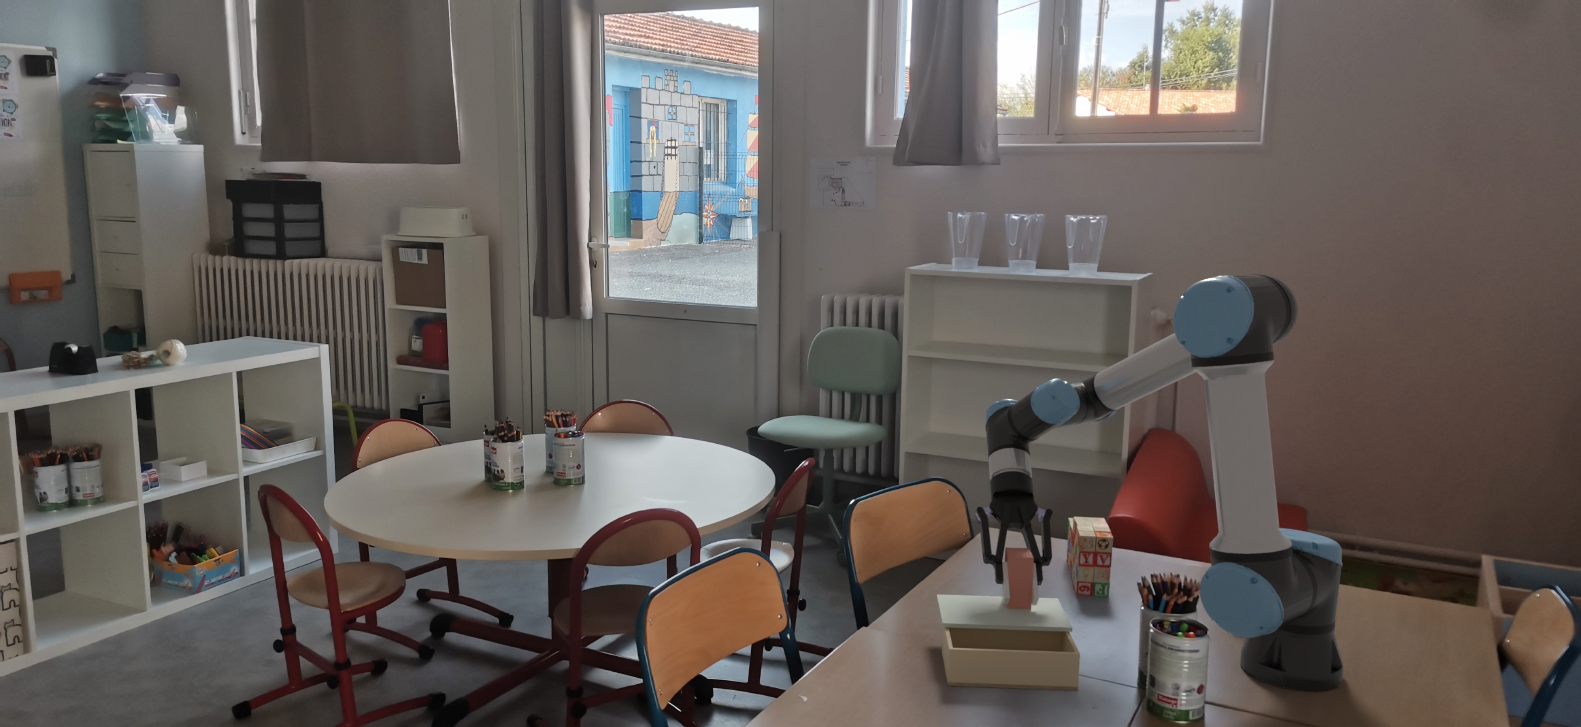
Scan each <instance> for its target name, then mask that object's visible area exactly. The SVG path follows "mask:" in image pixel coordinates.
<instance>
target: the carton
mask: <svg viewBox="0 0 1581 727" xmlns="http://www.w3.org/2000/svg"><path fill="white" fill-rule="evenodd" d="M941 641H942V642H941V656H942V657H941V658H942V661H943V668H944V672H945V678H946V683H947V686H949V687H973V688H999V689H1000V688H1001V689H1002V688H1003V689H1021V690H1022V689H1024V690H1025V689H1026V690H1048V691H1051V690H1052V691H1054V690H1055V691H1079V680H1080V679H1079V677H1080V661H1081V653H1080V652H1079V649H1078V647H1077V644H1076V643H1075V641H1074V639H1073V637H1072V635H1071V632H1065V631H1036V630H1008V629H979V628H951V627H942V639H941Z"/></svg>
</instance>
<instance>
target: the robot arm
mask: <svg viewBox="0 0 1581 727" xmlns="http://www.w3.org/2000/svg"><path fill="white" fill-rule="evenodd" d="M1297 302H1298V301H1297V298H1296V296H1295V293H1293V290H1292V289H1291V288H1290V287H1289V286H1288V285H1287V284H1286V283H1285V282H1284V281H1282V280H1281V279H1278V278H1277V277H1275V276H1272V275H1268V274H1263V273H1253V274H1252V273H1251V274H1243V275H1242V274H1241V275H1240V274H1238V275H1218V276H1214V277H1209V278H1204V279H1202V280H1199V281H1197V282H1195V283H1194V284H1192V285H1190V286H1189V287H1187V288H1186V290H1185V291H1184V292H1183V294H1182V295H1181V296H1180V297H1179V298H1178V300H1177V303H1176V304H1175V308H1174V310H1173V315H1172V316H1173V318H1172V326H1173V331H1174V333H1172V334H1170V335H1168V336H1166V337H1164V338H1163V339H1160V340H1158V341H1156V342H1155V343H1152V344H1150V345H1149V346H1147V347H1145V348H1143V349H1141V350H1139V351H1137V352H1135V353H1134V354H1132V355H1130V356H1127V357H1126V358H1124V359H1122V360H1120V361H1118V362H1117V363H1114V364H1112V365H1111V366H1108V367H1106V368H1105V369H1102V370H1101V371H1099V372H1097V373H1096V374H1093V375H1091V376H1090V377H1087V378H1086V379H1084V380H1081V381H1079V382H1074V383H1070V382H1068V381H1066V380H1062V379H1061V378H1052V379H1050V380H1048V381H1046V382H1045V383H1041V384H1039V385H1038V386H1037V387H1036V388H1035V389H1033V391H1031V392H1029V393H1028V394H1027V395H1025V396H1024V397H1022V398H1021V399H1020V400H1017V399H1011V398H1003V399H1001V400H1000V401H998V400H997V401H994V402H993V403H991V404H990V405H989V406H988V407H987V408H986V411H985V425H984V426H985V427H984V428H985V432H986V444H987V445H986V446H987V456H988V470H989V472H988V474H989V480H990V481H989V486H990V487H989V488H990V503H989V505H988V506H985V507H982V506H978V507H977V508H976V511H975V516H974V517H975V519H976V522H977V523H978V525H979V533H980V541H981V542H980V544H981V552H982V560H983V563H984V564H985V565H992V566H993V569H994V580H995V583H996V584H997V585H1001V589H1002V590H1001V592H1002V597H1003V604H1006V605H1008V602H1009V599H1010V592H1009V579H1008V566H1007V562H1005V561H1003V559H1004V555H1005V546H1006V540H1007V534H1008V530H1009V529H1013V528H1015V529H1018V530H1019V531H1020V533H1021V535H1022V537H1023V540H1024V543H1025V546H1026V547H1025V548H1029V549H1030V551H1031V553H1032V555H1033V557H1034V563H1033V583H1032V605H1037V602H1038V600H1039V598H1040V597H1039V596H1040V595H1039V589H1038V587H1039V586H1042V583H1043V580H1044V575H1043V567H1049V566H1050V564H1051V563H1052V559H1053V548H1052V534H1051V533H1052V532H1051V519H1052V516H1053V515H1054V514H1053V512H1054V511H1053V510H1052V508H1046V510H1045V509H1043V508H1040V507H1039V506H1038V504H1037V502H1036V500H1035V494H1034V492H1035V491H1034V482H1033V479H1032V477H1033V473H1032V472H1033V471H1032V463H1031V452H1030V444H1032V443H1033V442H1035V441H1037V440H1038V439H1040V438H1041V437H1043V436H1045V435H1046V434H1047V433H1048V434H1049V433H1050V432H1051V431H1053V430H1057V429H1059V428H1060V429H1061V428H1065V427H1066V428H1067V427H1070V426H1076V425H1079V424H1085V423H1091V422H1099V421H1102V420H1106V419H1107V418H1111V417H1112V416H1114V415H1115V414H1116V412H1117V411H1118V410H1119V409H1121V408H1123V407H1125V406H1128V405H1130V404H1131V403H1134V402H1137V401H1139V400H1140V399H1142V398H1144V397H1146V396H1148V395H1151V394H1153V393H1155V392H1157V391H1159V390H1161V389H1163V388H1165V387H1167V386H1170V385H1172V384H1174V383H1176V382H1178V381H1180V380H1183V379H1184V378H1187V377H1189V376H1190V375H1193V374H1195V373H1197V374H1198V375H1199V376H1200V377H1201V378H1202V380H1203V384H1204V385H1203V386H1204V395H1205V404H1206V405H1205V406H1206V414H1207V415H1206V417H1207V424H1208V425H1207V426H1208V438H1209V446H1210V455H1211V456H1210V457H1211V467H1212V475H1213V476H1212V478H1213V486H1214V496H1215V497H1214V498H1215V508H1216V517H1217V528H1218V533H1217V535H1216V536H1215V537H1214V538H1213V539H1212V540H1211V541H1210V542H1209V553H1210V564H1211V566H1210V567H1208V568H1207V569H1206V572H1205V573H1204V574H1203V575H1202V577H1201V579H1200V582H1199V587H1200V586H1201V589H1200V588H1199V589H1200V592H1199V598H1200V601H1201V604H1202V606H1203V610H1204V611H1205V612H1206V614H1207V615H1208V617H1209V618H1210V619H1211V621H1213V622H1215V623H1216V624H1217V625H1218V627H1219V628H1221V629H1222V630H1224V631H1225V632H1226V633H1229V634H1231V635H1233V636H1236V637H1239V638H1244V639H1245V640H1244V642H1243V645H1242V646H1241V649H1240V657H1239V659H1240V660H1239V664H1240V667H1241V666H1242V667H1243V668H1244V669H1245V670H1246V671H1247V672H1248V673H1249V674H1248V673H1247V672H1246V671H1245V670H1244V669H1243V668H1242V667H1241V668H1242V669H1243V670H1244V671H1245V672H1246V673H1247V674H1248V675H1250V674H1251V675H1252V677H1253V676H1254V677H1253V678H1255V677H1256V678H1255V679H1257V678H1258V679H1257V680H1259V681H1261V680H1262V682H1264V683H1266V682H1267V684H1269V683H1270V684H1269V685H1272V686H1275V685H1276V687H1279V686H1280V687H1279V688H1283V687H1284V688H1283V689H1288V690H1294V691H1301V692H1326V691H1331V690H1333V689H1336V688H1338V687H1340V686H1341V685H1342V683H1343V678H1344V664H1343V659H1342V656H1341V652H1340V648H1339V645H1338V641H1337V637H1336V620H1337V612H1338V611H1337V610H1338V601H1339V600H1338V599H1339V593H1340V592H1339V590H1340V582H1341V575H1342V574H1341V573H1342V567H1343V562H1342V560H1343V559H1342V556H1343V555H1342V552H1343V551H1342V547H1341V545H1340V544H1339V543H1338V542H1337V541H1336V540H1334V539H1332V538H1330V537H1327V536H1324V535H1320V534H1317V533H1313V532H1308V531H1303V530H1299V529H1293V528H1283V527H1280V522H1279V521H1280V520H1279V512H1278V502H1277V501H1278V500H1277V493H1276V492H1277V491H1276V480H1275V471H1274V462H1273V461H1274V460H1273V450H1272V449H1273V448H1272V439H1271V430H1270V419H1269V416H1270V415H1269V408H1268V399H1267V398H1268V397H1267V388H1266V377H1265V375H1266V372H1267V371H1268V369H1269V368H1270V367H1271V366H1272V365H1273V364H1274V362H1275V357H1274V356H1275V354H1274V346H1275V345H1276V344H1279V343H1280V342H1281V341H1284V339H1286V338H1287V337H1288V336H1289V335H1290V334H1291V332H1292V331H1293V330H1294V327H1295V325H1296V324H1297V319H1298V315H1299V314H1298V312H1299V309H1298V308H1299V307H1298V306H1299V305H1298V303H1297ZM990 514H991V515H992V517H993V518H994V519H995V520H996V521H997V522H998V524H999V528H998V530H999V531H998V537H997V544H996V549H995V554H993V552H992V544H991V534H990V525H989V519H990ZM1035 516H1037V520H1038V521H1039V523H1041V525H1040V534H1041V535H1040V536H1041V537H1040V538H1041V552H1040V549H1039V547H1038V544H1037V540H1036V537H1035V534H1034V531H1033V528H1032V520H1033V519H1034V517H1035ZM1041 553H1042V554H1041ZM1251 675H1250V676H1251ZM1339 685H1340V686H1339ZM1330 689H1331V690H1330ZM1325 690H1326V691H1325Z"/></svg>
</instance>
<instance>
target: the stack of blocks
mask: <svg viewBox="0 0 1581 727" xmlns="http://www.w3.org/2000/svg"><path fill="white" fill-rule="evenodd" d="M1066 530H1067V531H1066V532H1067V543H1066V545H1067V546H1066V547H1067V549H1066V561H1067V566H1068V570H1069V573H1070V575H1071V579H1072V584H1073V588H1074V592H1075V595H1076V596H1080V597H1081V596H1083V597H1093V598H1094V597H1097V598H1109V597H1110V588H1111V580H1110V579H1111V568H1112V560H1113V559H1112V557H1113V545H1114V536H1113V534H1112V531H1111V529H1110V526H1109V525H1108V523H1107V521H1106V519H1105V518H1104V517H1088V516H1087V517H1085V516H1073V517H1068V519H1067V529H1066Z"/></svg>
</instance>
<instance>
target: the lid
mask: <svg viewBox="0 0 1581 727" xmlns="http://www.w3.org/2000/svg"><path fill="white" fill-rule="evenodd" d="M1004 562H1007V566H1008V579H1009V592H1010V599H1009V602H1008V605H1006V604H1003V596H1001V595H998V596H993V595H969V594H968V595H965V594H964V595H963V594H936V602H937V608H938V611H939V617H940V622H941V626H942V628H943V627H951V628H979V629H1008V630H1036V631H1065V632H1069V633H1073V626H1072V624H1071V622H1070V620H1069V617H1068V616H1067V614H1066V612H1065V610H1064V608H1063V606H1062V604H1061V602H1060V600H1059V599H1058V598H1057V597H1054V598H1053V597H1039V600H1038V602H1037V605H1032V583H1033V563H1034V557H1033V555H1032V553H1031V551H1030V549H1029V548H1027V547H1005V548H1004Z"/></svg>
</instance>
